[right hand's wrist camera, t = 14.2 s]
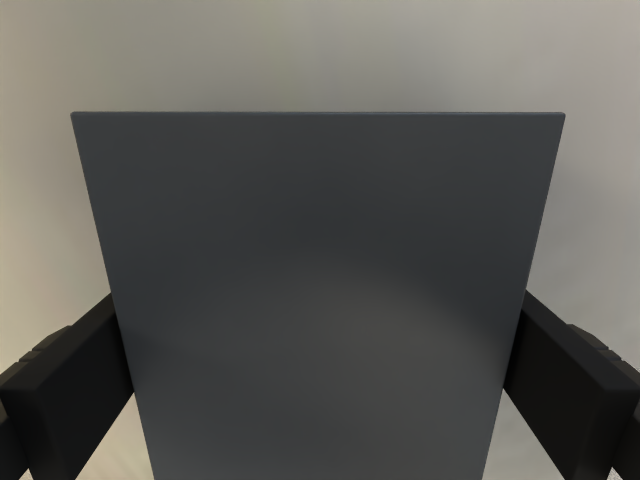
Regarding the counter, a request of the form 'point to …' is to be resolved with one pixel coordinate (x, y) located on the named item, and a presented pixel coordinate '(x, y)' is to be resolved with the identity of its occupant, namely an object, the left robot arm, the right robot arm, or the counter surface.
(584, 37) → the counter surface
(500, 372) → the slab
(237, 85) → the counter surface
